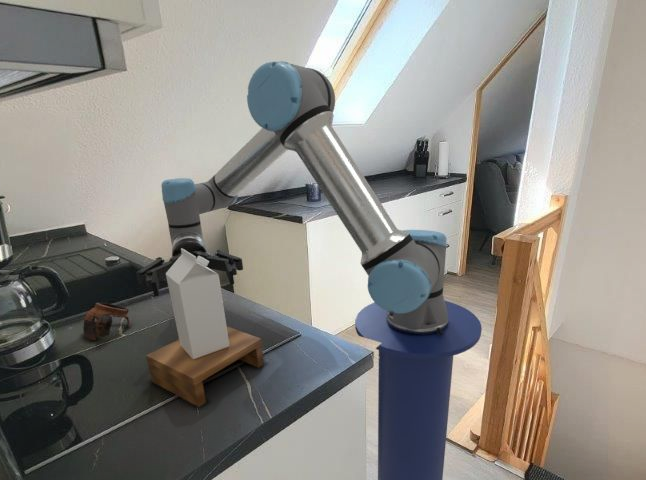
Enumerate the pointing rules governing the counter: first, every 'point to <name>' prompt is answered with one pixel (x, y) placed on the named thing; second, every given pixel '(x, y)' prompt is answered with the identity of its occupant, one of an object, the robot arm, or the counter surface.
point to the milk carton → (197, 305)
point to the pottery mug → (102, 319)
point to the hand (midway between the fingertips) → (194, 283)
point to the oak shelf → (200, 364)
